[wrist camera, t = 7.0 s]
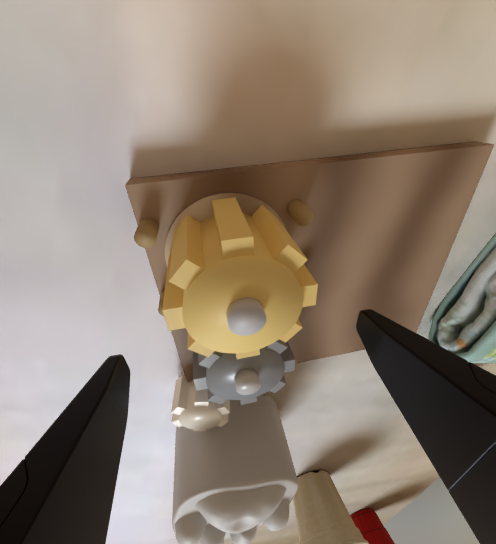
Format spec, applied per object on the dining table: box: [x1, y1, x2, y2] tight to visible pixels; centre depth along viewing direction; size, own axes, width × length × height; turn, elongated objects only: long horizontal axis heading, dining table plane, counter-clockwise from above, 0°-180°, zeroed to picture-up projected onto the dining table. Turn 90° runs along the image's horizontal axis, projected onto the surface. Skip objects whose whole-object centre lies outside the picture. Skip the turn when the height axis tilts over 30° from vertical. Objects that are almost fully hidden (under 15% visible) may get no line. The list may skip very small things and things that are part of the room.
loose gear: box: [162, 197, 318, 359], centre depth 13 cm, size 7×7×6 cm
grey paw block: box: [172, 395, 298, 544], centre depth 26 cm, size 10×13×9 cm
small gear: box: [171, 375, 230, 431], centre depth 22 cm, size 4×4×3 cm
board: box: [125, 142, 494, 382], centre depth 18 cm, size 20×16×3 cm
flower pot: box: [293, 470, 369, 544], centre depth 38 cm, size 9×9×9 cm
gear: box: [193, 339, 295, 405], centre depth 18 cm, size 7×7×4 cm
